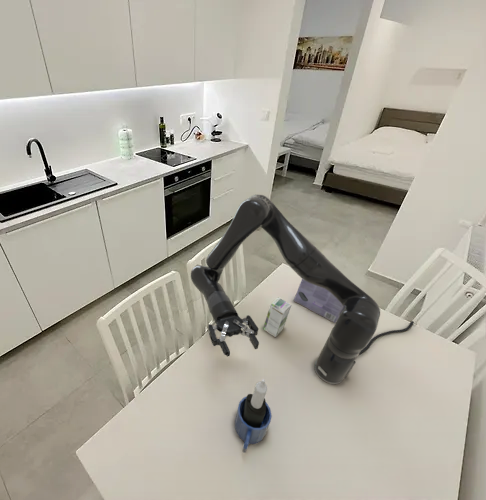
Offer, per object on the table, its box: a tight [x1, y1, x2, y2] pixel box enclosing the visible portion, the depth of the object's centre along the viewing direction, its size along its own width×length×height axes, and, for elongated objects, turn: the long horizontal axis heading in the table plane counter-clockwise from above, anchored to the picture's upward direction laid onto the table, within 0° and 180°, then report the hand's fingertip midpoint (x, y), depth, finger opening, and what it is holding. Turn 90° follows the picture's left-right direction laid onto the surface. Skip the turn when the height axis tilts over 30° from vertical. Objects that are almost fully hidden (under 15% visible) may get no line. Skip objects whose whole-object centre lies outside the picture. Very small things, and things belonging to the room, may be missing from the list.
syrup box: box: [263, 297, 292, 338], centre depth 107 cm, size 6×6×14 cm
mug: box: [234, 395, 273, 454], centre depth 80 cm, size 12×9×10 cm
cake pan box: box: [293, 278, 343, 324], centre depth 115 cm, size 19×5×18 cm, turn 49°
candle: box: [241, 378, 268, 428], centre depth 76 cm, size 5×5×25 cm
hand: (243, 351), depth 79 cm, fingers open, 8 cm apart
